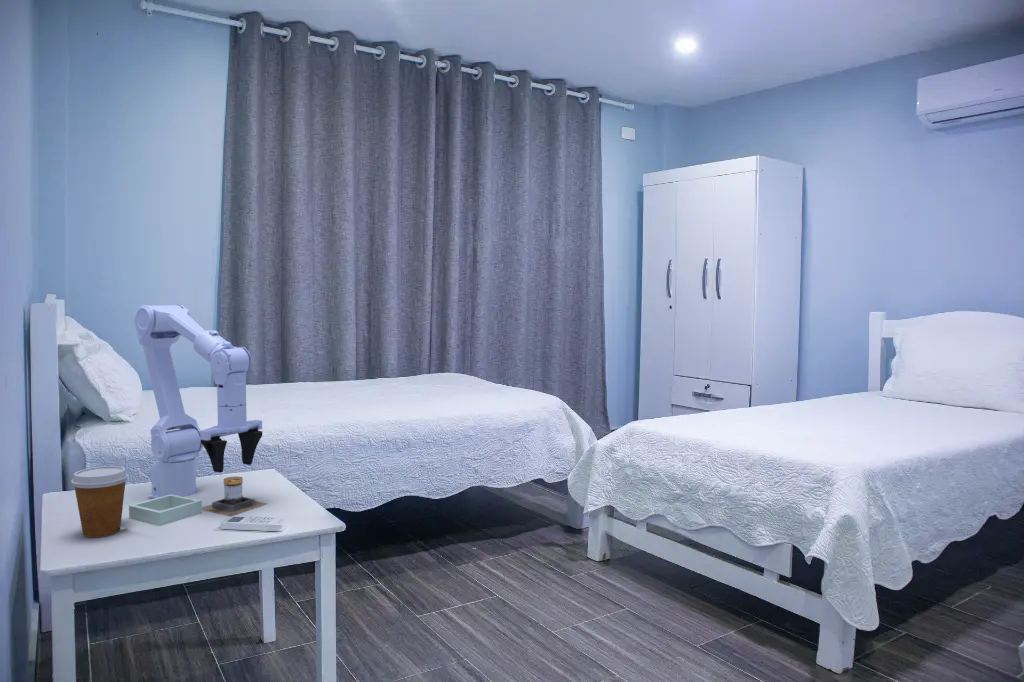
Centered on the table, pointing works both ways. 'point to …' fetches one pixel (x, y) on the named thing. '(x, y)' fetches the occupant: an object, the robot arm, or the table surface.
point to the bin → (178, 510)
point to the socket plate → (233, 507)
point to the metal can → (233, 490)
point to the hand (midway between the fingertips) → (233, 467)
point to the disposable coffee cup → (100, 499)
